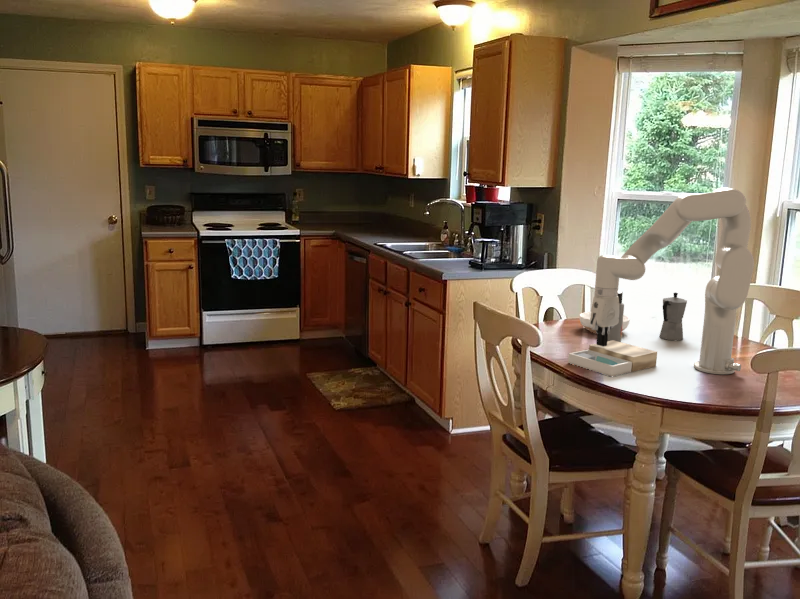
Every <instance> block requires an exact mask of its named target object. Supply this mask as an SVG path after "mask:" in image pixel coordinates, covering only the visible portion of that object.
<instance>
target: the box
mask: <svg viewBox="0 0 800 599" xmlns="http://www.w3.org/2000/svg"><path fill="white" fill-rule="evenodd" d="M581 353H585V354H589V355H592V356H595V360H592V359H589V358H585V357H582V356H578V355H576V354H581ZM597 356H600V357H603V358H607V359H610V360H612V361H614V362H616V363H618V364H616V365H609V364H606V363H602V362H599V361H596V358H597ZM568 363H570V364H569V365H571V364H574V365H573V366H575V365H577V366H576V367H578V366H580V367H579V368H581V367H583V368H582V369H584V368H586V369H585V370H587V369H589V370H588V371H591V370H593V371H592V372H594V371H596V372H595V373H597V372H599V373H598V374H600V373H602V374H601V375H604V374H605V375H604V376H607V375H608V377H610V376H611V377H610V378H613V377H612V376H614V377H617V376H616V375H618V376H622V375H624V374H625V373H626V374H630V373H632V372H631V368H632V362H631V361H627V360H624V359H620V358H617V357H613V356H610V355H606V354H602V353H599V352H595V351H592V350H589V349H583V350H579V351H573V352H569V353H568V358H567V364H568ZM621 374H622V375H621Z"/></svg>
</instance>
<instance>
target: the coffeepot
mask: <svg viewBox="0 0 800 599" xmlns="http://www.w3.org/2000/svg"><path fill="white" fill-rule="evenodd" d="M678 294H679V293H677V292H673V297H664V298H662V315H663V321H662V325H661V328H660V329H661V330H660V332H659V338H660V339H662V338H663V340H666V339H667V340H666V341H675V340H677V341H683V339H684V331H683V330H684V329H683V318H684V316H685V315H684V314H685V311H686V307H687V304H688V300H686V299H685V298H679V297H678Z"/></svg>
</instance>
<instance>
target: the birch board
mask: <svg viewBox="0 0 800 599" xmlns="http://www.w3.org/2000/svg"><path fill="white" fill-rule="evenodd" d="M588 350H592V351H595V352H599V353H602V354H606V355H610V356H613V357H617V358H620V359H624V360H627V361H631V362H632V368H631V372H630V373H633V372H637V371H642V370H646V369H649V368H654V367H656V366H657V358H658V351H655V350H652V349H648V348H644V347H640V346H636V345H632V344H630V343H629V344H628V343H625V342H622V341H621V342H618V341H614V340H612V341H607V346H600V345H597V343H593V344H589V347H588Z"/></svg>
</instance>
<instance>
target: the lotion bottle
mask: <svg viewBox="0 0 800 599" xmlns="http://www.w3.org/2000/svg"><path fill="white" fill-rule="evenodd" d="M623 294H624V293H623V291H621V290H619V289H618V297H619V323H618V324H617V325H615V326H614V327H612V328H611V329H610V332H609V334H607V335H608V340H607V341H612V340H614V341H618V342H622V335H623V331H622V325H623V315H624V312H625V311H624V310H625V304H624V303H623Z"/></svg>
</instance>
